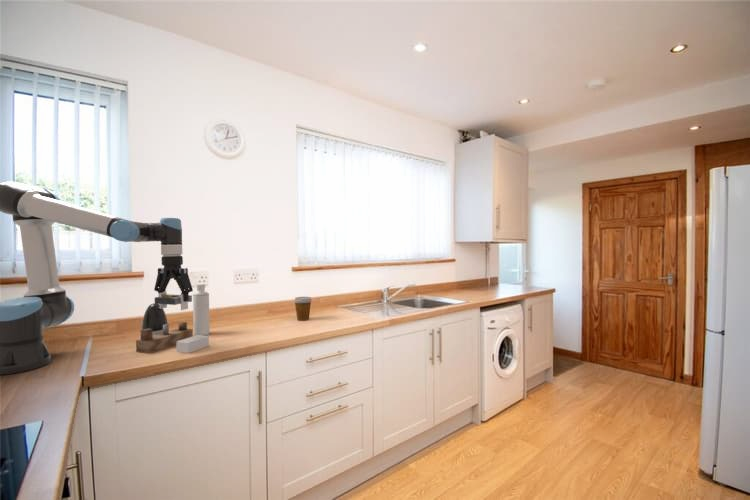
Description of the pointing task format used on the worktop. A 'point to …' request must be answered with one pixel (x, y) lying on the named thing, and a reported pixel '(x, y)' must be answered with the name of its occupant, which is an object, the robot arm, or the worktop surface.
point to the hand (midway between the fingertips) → (173, 308)
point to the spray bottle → (201, 311)
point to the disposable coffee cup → (303, 308)
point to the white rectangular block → (192, 343)
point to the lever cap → (170, 299)
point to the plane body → (162, 338)
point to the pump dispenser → (154, 319)
